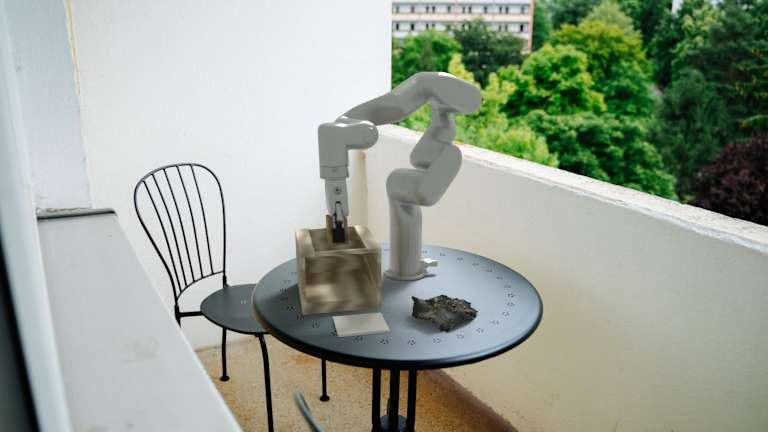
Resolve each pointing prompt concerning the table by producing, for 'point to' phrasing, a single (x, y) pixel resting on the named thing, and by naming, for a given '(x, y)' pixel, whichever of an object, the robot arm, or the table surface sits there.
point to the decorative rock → (442, 311)
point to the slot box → (338, 271)
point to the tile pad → (360, 324)
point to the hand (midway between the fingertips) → (337, 238)
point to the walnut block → (329, 230)
